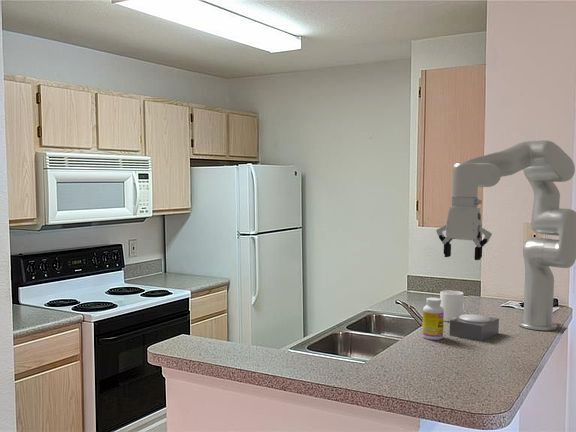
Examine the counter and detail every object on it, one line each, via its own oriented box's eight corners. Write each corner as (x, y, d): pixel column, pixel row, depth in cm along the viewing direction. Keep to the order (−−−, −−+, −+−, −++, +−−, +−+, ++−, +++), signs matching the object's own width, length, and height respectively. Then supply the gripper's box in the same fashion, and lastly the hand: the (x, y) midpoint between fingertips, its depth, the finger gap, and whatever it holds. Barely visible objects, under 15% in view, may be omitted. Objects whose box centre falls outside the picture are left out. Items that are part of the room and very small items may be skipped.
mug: (456, 315, 224) (457, 288, 223) (474, 319, 217) (475, 292, 216) (434, 318, 217) (435, 291, 217) (452, 323, 210) (452, 295, 210)
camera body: (467, 327, 205) (468, 311, 205) (498, 333, 198) (499, 316, 197) (449, 334, 195) (449, 317, 194) (481, 341, 187) (481, 323, 187)
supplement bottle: (439, 341, 186) (440, 301, 186) (419, 338, 190) (420, 299, 189) (445, 336, 192) (446, 298, 191) (426, 333, 196) (427, 296, 195)
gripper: (496, 203, 176) (494, 260, 177) (443, 201, 187) (441, 254, 188) (487, 204, 171) (485, 262, 171) (432, 202, 182) (430, 256, 183)
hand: (462, 258), depth 180 cm, fingers open, 9 cm apart
